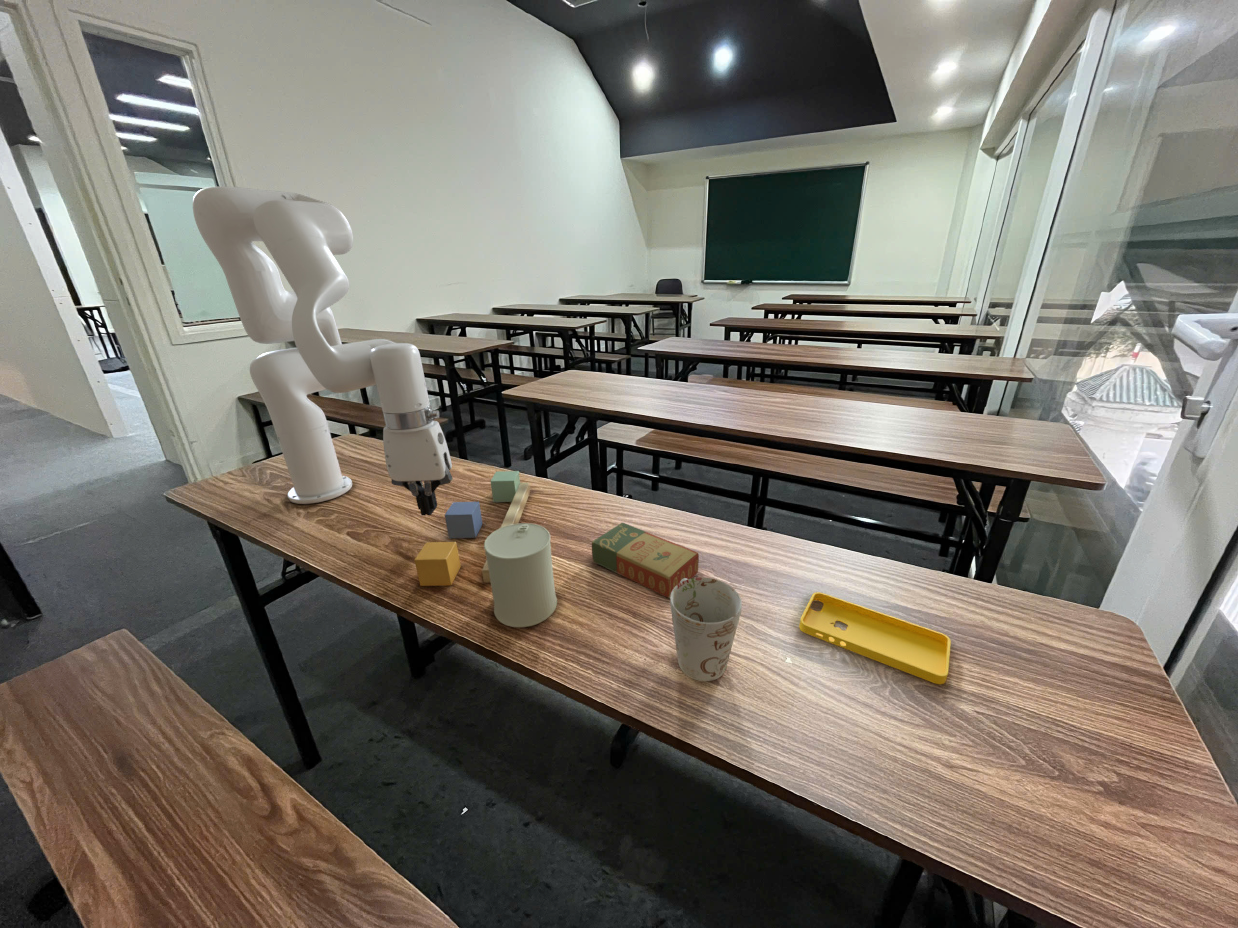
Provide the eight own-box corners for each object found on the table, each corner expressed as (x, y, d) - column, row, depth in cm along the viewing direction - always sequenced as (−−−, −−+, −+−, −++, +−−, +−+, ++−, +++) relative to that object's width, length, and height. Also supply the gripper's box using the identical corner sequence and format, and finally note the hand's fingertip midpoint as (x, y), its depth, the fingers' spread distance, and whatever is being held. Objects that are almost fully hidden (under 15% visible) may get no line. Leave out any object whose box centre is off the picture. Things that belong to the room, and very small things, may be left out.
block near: (420, 586, 76) (414, 559, 74) (431, 567, 81) (425, 542, 79) (451, 585, 76) (446, 559, 74) (461, 566, 81) (456, 541, 79)
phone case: (944, 687, 56) (947, 679, 55) (797, 630, 65) (798, 622, 64) (948, 643, 62) (951, 635, 62) (813, 597, 71) (814, 589, 71)
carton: (669, 600, 71) (669, 576, 70) (591, 561, 81) (589, 540, 79) (698, 573, 77) (699, 551, 75) (622, 540, 87) (621, 519, 85)
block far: (493, 502, 102) (490, 481, 100) (498, 491, 106) (495, 471, 104) (516, 501, 102) (514, 480, 100) (521, 491, 106) (518, 470, 104)
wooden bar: (521, 492, 106) (520, 482, 105) (530, 492, 106) (529, 482, 105) (483, 582, 76) (481, 570, 75) (496, 582, 76) (494, 570, 75)
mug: (684, 697, 56) (687, 630, 52) (648, 624, 67) (648, 565, 63) (748, 679, 58) (755, 614, 54) (703, 612, 69) (706, 553, 65)
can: (562, 587, 75) (556, 520, 70) (549, 629, 66) (541, 557, 62) (505, 584, 76) (495, 518, 71) (485, 626, 67) (472, 554, 62)
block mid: (448, 538, 89) (444, 514, 87) (457, 524, 93) (453, 502, 91) (475, 537, 89) (471, 514, 87) (482, 524, 93) (479, 501, 91)
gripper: (458, 410, 85) (474, 501, 93) (375, 412, 86) (397, 503, 93) (444, 423, 79) (462, 520, 86) (354, 426, 79) (380, 523, 86)
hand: (429, 511), depth 89 cm, fingers closed
